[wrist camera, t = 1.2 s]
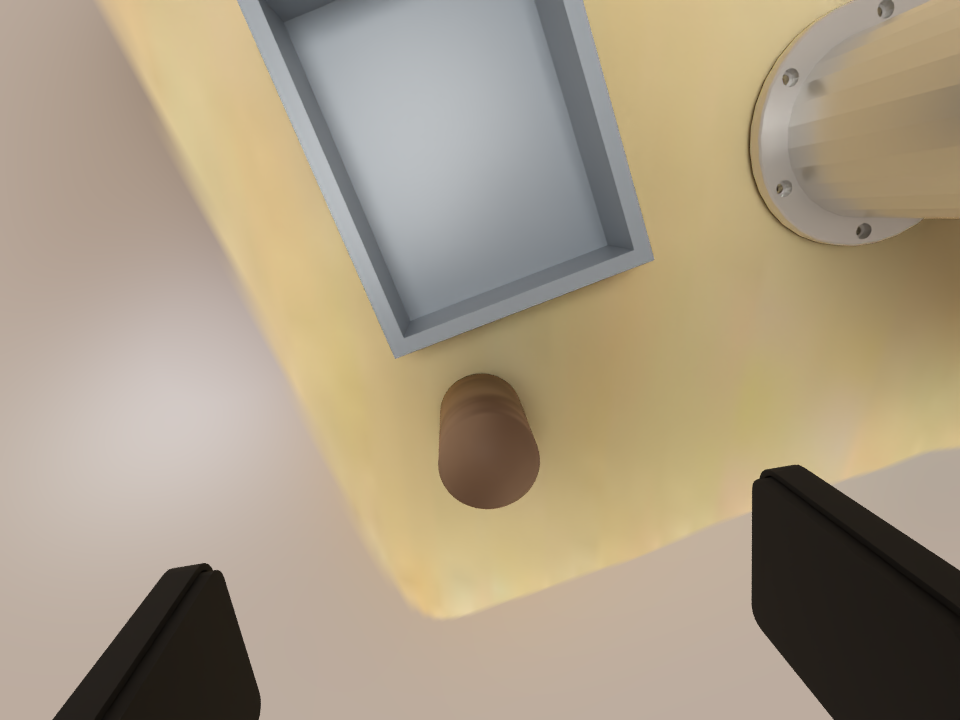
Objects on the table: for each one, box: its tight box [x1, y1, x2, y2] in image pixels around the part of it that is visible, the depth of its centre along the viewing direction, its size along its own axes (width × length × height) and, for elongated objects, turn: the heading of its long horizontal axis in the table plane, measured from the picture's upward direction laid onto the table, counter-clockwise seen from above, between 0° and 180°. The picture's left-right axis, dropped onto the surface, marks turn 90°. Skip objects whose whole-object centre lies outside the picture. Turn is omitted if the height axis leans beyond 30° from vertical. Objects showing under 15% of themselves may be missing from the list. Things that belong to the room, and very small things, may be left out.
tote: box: [237, 0, 654, 359], centre depth 26 cm, size 18×14×5 cm
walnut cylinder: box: [438, 374, 540, 509], centre depth 29 cm, size 5×5×7 cm
